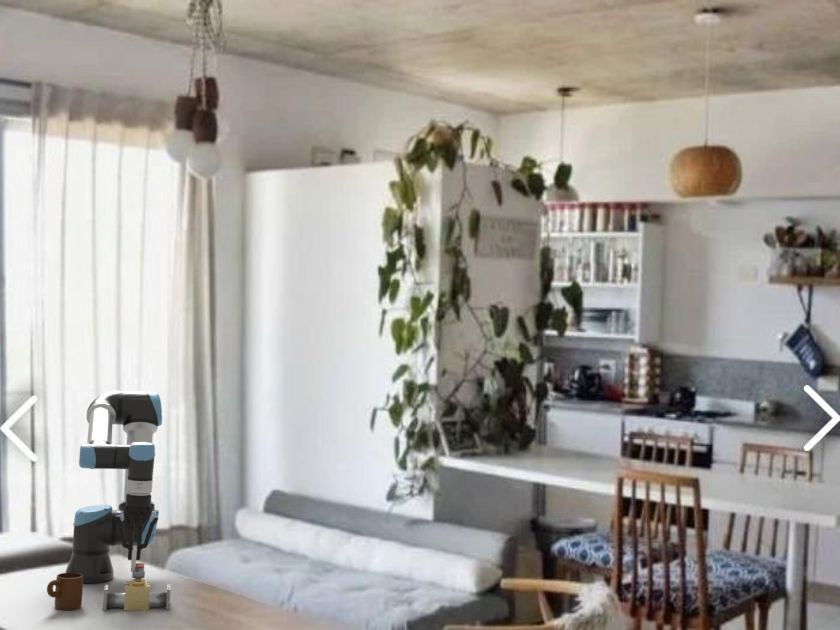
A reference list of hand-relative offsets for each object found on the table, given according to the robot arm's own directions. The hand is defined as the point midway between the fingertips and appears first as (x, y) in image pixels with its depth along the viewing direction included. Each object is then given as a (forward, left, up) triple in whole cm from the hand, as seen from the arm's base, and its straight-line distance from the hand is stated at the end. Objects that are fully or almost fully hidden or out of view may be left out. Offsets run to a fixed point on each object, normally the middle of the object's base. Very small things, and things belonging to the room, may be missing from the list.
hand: (133, 570), depth 318 cm
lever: (+3, +2, 0) cm, 4 cm away
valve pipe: (+8, +2, -9) cm, 12 cm away
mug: (+9, -19, -9) cm, 23 cm away
